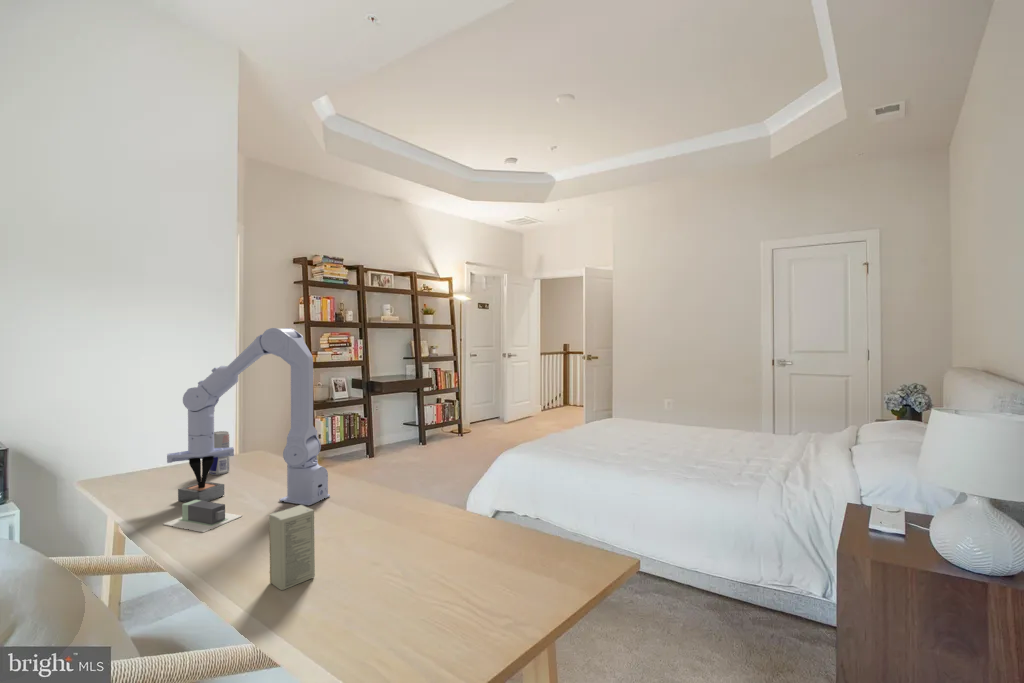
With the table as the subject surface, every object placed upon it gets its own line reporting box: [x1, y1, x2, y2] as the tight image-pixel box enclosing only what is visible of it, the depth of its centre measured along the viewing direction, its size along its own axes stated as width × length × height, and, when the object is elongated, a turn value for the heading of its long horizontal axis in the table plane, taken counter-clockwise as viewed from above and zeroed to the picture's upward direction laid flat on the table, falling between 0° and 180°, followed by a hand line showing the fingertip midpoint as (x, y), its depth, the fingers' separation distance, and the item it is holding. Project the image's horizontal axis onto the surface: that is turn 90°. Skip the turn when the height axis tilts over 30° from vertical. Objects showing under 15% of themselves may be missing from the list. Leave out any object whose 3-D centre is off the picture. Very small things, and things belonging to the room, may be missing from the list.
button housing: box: [177, 481, 225, 503], centre depth 133 cm, size 7×7×3 cm
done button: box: [187, 484, 216, 491], centre depth 133 cm, size 4×4×2 cm
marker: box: [181, 500, 226, 525], centre depth 117 cm, size 10×3×3 cm, turn 70°
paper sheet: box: [162, 512, 243, 533], centre depth 118 cm, size 12×10×1 cm
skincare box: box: [268, 504, 316, 591], centre depth 90 cm, size 6×4×12 cm
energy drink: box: [208, 430, 230, 476], centre depth 156 cm, size 5×5×12 cm
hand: (201, 487), depth 133 cm, fingers closed, pressing on done button
